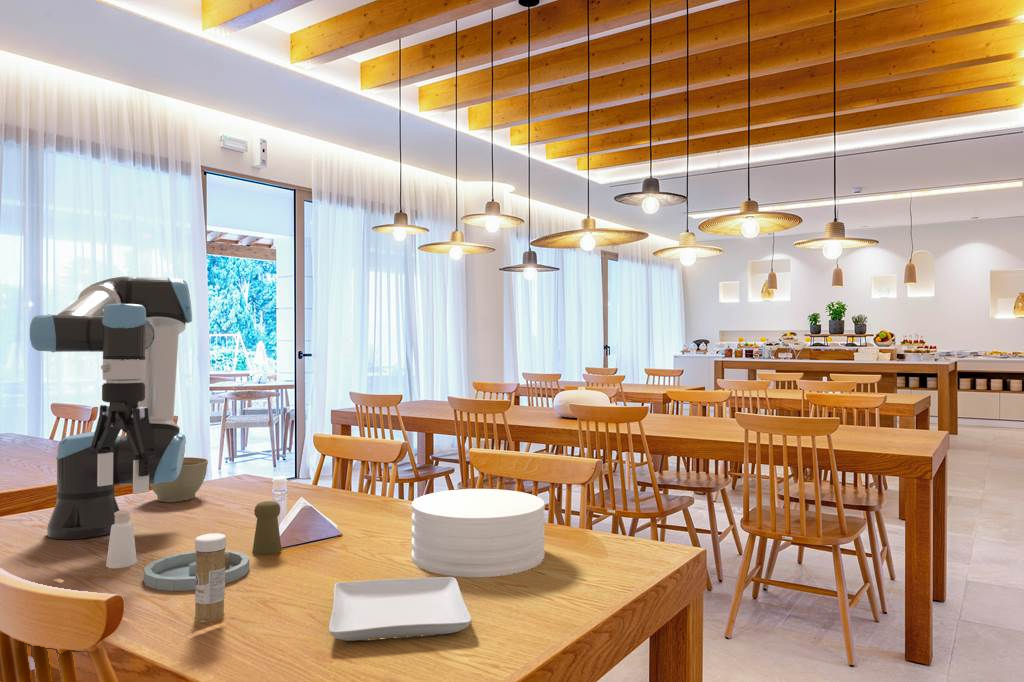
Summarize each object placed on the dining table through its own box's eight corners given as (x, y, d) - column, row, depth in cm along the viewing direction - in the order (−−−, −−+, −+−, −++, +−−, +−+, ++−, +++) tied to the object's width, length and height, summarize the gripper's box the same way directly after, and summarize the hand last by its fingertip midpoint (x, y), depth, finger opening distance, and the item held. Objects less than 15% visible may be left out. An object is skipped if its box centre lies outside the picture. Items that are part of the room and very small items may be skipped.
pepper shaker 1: (143, 564, 140) (144, 509, 141) (120, 572, 135) (121, 515, 135) (122, 561, 142) (123, 507, 142) (99, 569, 137) (99, 513, 137)
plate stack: (563, 547, 155) (563, 495, 155) (510, 586, 130) (510, 524, 130) (453, 532, 167) (453, 484, 167) (384, 565, 141) (384, 508, 142)
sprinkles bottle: (188, 621, 112) (189, 536, 112) (216, 612, 115) (217, 530, 115) (202, 628, 109) (203, 541, 109) (230, 620, 112) (231, 535, 112)
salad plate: (473, 641, 105) (473, 619, 105) (327, 653, 101) (328, 629, 101) (455, 593, 126) (455, 574, 126) (333, 601, 122) (333, 581, 122)
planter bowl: (166, 508, 190) (166, 467, 190) (133, 500, 198) (134, 462, 198) (219, 497, 203) (219, 460, 203) (186, 491, 212) (187, 455, 212)
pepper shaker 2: (272, 559, 145) (272, 505, 145) (245, 557, 146) (246, 504, 146) (287, 551, 150) (287, 499, 151) (261, 549, 152) (262, 498, 152)
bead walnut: (202, 577, 131) (202, 555, 131) (221, 571, 135) (221, 550, 135) (214, 581, 129) (214, 559, 129) (233, 575, 132) (234, 554, 132)
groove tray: (124, 581, 130) (124, 567, 130) (212, 557, 145) (213, 545, 145) (179, 601, 120) (179, 586, 120) (268, 573, 135) (268, 560, 135)
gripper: (73, 380, 143) (71, 485, 143) (138, 384, 129) (137, 499, 129) (111, 379, 149) (109, 479, 149) (177, 382, 135) (176, 493, 135)
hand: (122, 489), depth 139 cm, fingers open, 13 cm apart
